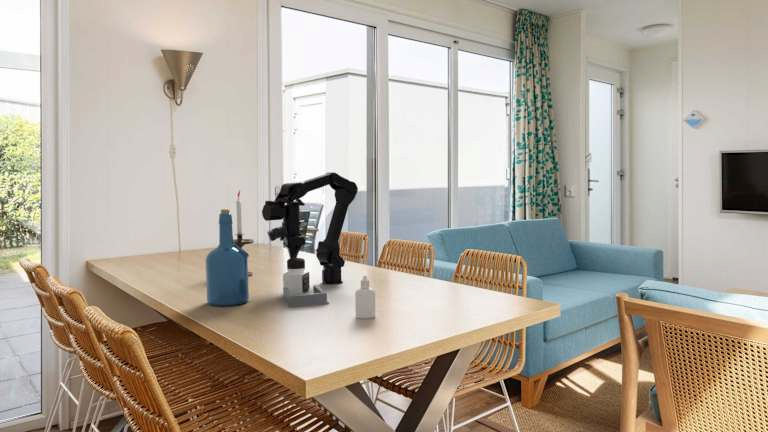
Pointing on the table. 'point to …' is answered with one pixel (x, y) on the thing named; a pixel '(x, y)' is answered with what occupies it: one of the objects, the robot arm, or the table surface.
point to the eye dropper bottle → (365, 300)
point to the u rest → (305, 298)
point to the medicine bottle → (296, 277)
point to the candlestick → (239, 240)
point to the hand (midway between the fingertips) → (292, 262)
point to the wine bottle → (227, 268)
